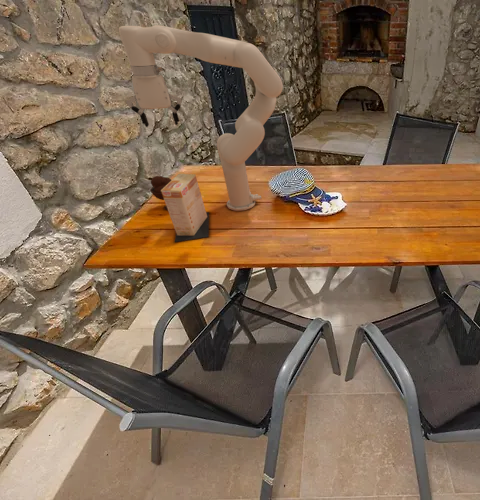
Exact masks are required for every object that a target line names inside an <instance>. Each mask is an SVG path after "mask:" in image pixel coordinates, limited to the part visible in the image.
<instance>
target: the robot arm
mask: <svg viewBox="0 0 480 500" xmlns="http://www.w3.org/2000/svg"><path fill="white" fill-rule="evenodd" d="M118 32H119V33H118V34H119V37H120V39H121V43H122V45H123V46H122V47H123V49H124V51H125V55H126V59H127V61H128V63H129V66H130V69H131V73H132V76H131V81H132V86H133V90H134V94H135V95H134V96H131V97H130V98H129V99H127V100H126V101H125V103H126V105H127V106H128V107H129V108H130V109H131V110H132V111H133V112H135V113H137V115H138V116H139V117H140V120H141V123H142V124H143V125H144V126H145V128H148V127H149V125H150V123H149V121H148V118H147V114H146V113H145V112H144V111H145V110H154V109H155V110H157V109H158V110H159V109H169V110H170V111H171V112H172V113H171V115H172V118H173V121H174V125H175V126H178V125H179V122H180V118H179V115H178V111H179V110H180V109H181V106H182V102H183V99H182V97H179V96H177V95H174V94H172V93H170V91H169V88H168V86H167V83H166V81H165V79H164V77H163V75H162V74H160V73H161V72H162V73H163V71H164V69H163V67H162V66H158V65H157V63H156V59H155V56H154V53H155V54H162V55H163V54H164V55H167V54H168V55H169V54H171V53H173V54H177V55H178V54H179V55H184V56H188V57H192V58H196V59H199V60H201V61H203V62H207V63H211V64H217V65H222V66H229V67H233V68H239V69H243V70H244V71H245V72H246V74H247V75H248V76H249V77H250V79H251V80H252V81H253V84H254V87H255V95H254V97H253V99H252V101H251V103H249V104H248V106H247V108H245V110H244V111H243V112H242V113H241V114H240V116H239V117H238V118H237V119H236V120H235V123H234V127H235V131H236V132H235V134H233V133H229V132H225V133H223V134H221V135H220V136H218V138H217V141H216V149H217V153H218V157H219V160H220V164H221V168H222V172H223V178H224V181H225V182H224V183H225V187H226V190H227V196H228V200H227V201H226V208H228V209H229V210H231V211H235V212H243V211H247V210H249V209H252V208H253V207H254V206H256V201H262V200H263V199H262V198H263V197H262V195H259V194H258V193H255V194H253V193H252V192H251V190H250V189H251V188H250V184H249V178H248V172H247V171H248V170H247V165H246V162H247V160H248V159H249V158H250V157H251V156H252V154H253V153H254V152H255V151H256V150H257V149H258V147H259V146H260V145H261V144H262V142H263V140H264V138H265V135H266V132H265V131H266V130H265V127H264V125H265V124H266V122H267V121H268V120H269V118H270V117H271V116H272V115H273V113H274V111H275V108H276V104H277V98H278V97H279V96H280V95H281V94H282V91H283V89H284V88H283V87H284V86H283V85H284V84H283V80H282V78H281V77H280V76H279V74H278V73H277V71H276V70H275V68H273V66H272V65H271V64H270V63H269V61H268V60H267V58H266V57H265V56H264V54H263V53H262V52H261V51H260V50H259V48H258V47H257V46H256V45H254V44H252V43H250V42H247V41H244V40H239V39H234V38H229V37H225V36H220V35H215V34H211V33H205V32H196V31H189V30H185V29H180V28H175V27H171V26H165V25H161V24H155V25H152V26H145V27H143V26H141V25H140V26H139V25H121V26H119V28H118ZM172 100H174V101H176V105H173V103H172ZM135 102H137V105H138V107H137V106H135V105H134V103H135ZM139 107H140V108H139Z"/></svg>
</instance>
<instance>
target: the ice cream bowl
mask: <svg viewBox="0 0 480 500" xmlns="http://www.w3.org/2000/svg"><path fill="white" fill-rule="evenodd" d="M171 180H172V179H171V178H170V177H167V176H163V175H155V176H153V177H152V178H151V180H150V184H151V186H152V187H151V188H150V190H149V192H151V194H152V195H153V196H154V197H155V198H156V199H157V200H160V201H165V200H164V198H163V195H162V192H161V190H162V189H163V188H164V187H165V186H166V185H167V184H168V183H169V182H170V181H171ZM163 209H164V210H165V211H168V209H167V206H166V205H164V207H163Z"/></svg>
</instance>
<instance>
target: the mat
mask: <svg viewBox="0 0 480 500" xmlns="http://www.w3.org/2000/svg"><path fill="white" fill-rule="evenodd" d="M206 214H207V218H206V220H205V221H204V222H203V224H202V225H201V227H200V228H199V229H198V231H197V232H196V234H195V235H194V236H186V235H185V236H179V235H177V234H176V233H175V237H174V243H180V242H181V243H182V242H188V241H193V240H199V239H207V238H210V237H209V234H210V233H209V232H210V212H209V211H206Z"/></svg>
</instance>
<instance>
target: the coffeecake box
mask: <svg viewBox="0 0 480 500" xmlns="http://www.w3.org/2000/svg"><path fill="white" fill-rule="evenodd" d="M161 192H162V195H163V198H164V200H163V201H164V203H165V206H167V209H168V210H167V211H168V214H169V217H170V220H171V222H172V225H173V228H174V231H175V235H176V234H177V235H179V236H185V235H186V236H194V235H195V234H196V232H197V231H198V229H199V228H200V227H201V225H202V224H203V222H204V221H205V220H206V218H207V214H206V212H207V211H206V207H205V204H204V200H203V197H202V193H201V189H200V186H199V182H198V179H197V174H195V173H177V175H176V176H174V177H173V178H172V179H171V181H170V182H169V183H168V184H167V185H166V186H165V187H164V188H163V189H162V190H161Z"/></svg>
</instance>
